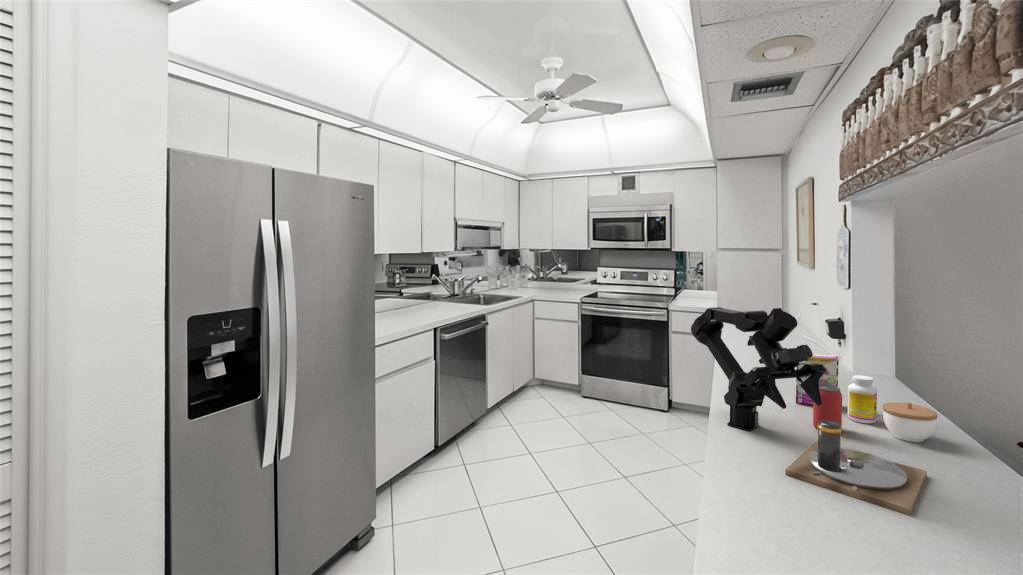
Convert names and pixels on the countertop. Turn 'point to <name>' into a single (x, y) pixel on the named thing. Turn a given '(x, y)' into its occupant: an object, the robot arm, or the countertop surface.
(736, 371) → the robot arm
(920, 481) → the base plate
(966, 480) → the countertop surface
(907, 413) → the lidded jar
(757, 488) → the countertop surface
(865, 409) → the supplement bottle
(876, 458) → the dial
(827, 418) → the beer can
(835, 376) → the candy bar box
